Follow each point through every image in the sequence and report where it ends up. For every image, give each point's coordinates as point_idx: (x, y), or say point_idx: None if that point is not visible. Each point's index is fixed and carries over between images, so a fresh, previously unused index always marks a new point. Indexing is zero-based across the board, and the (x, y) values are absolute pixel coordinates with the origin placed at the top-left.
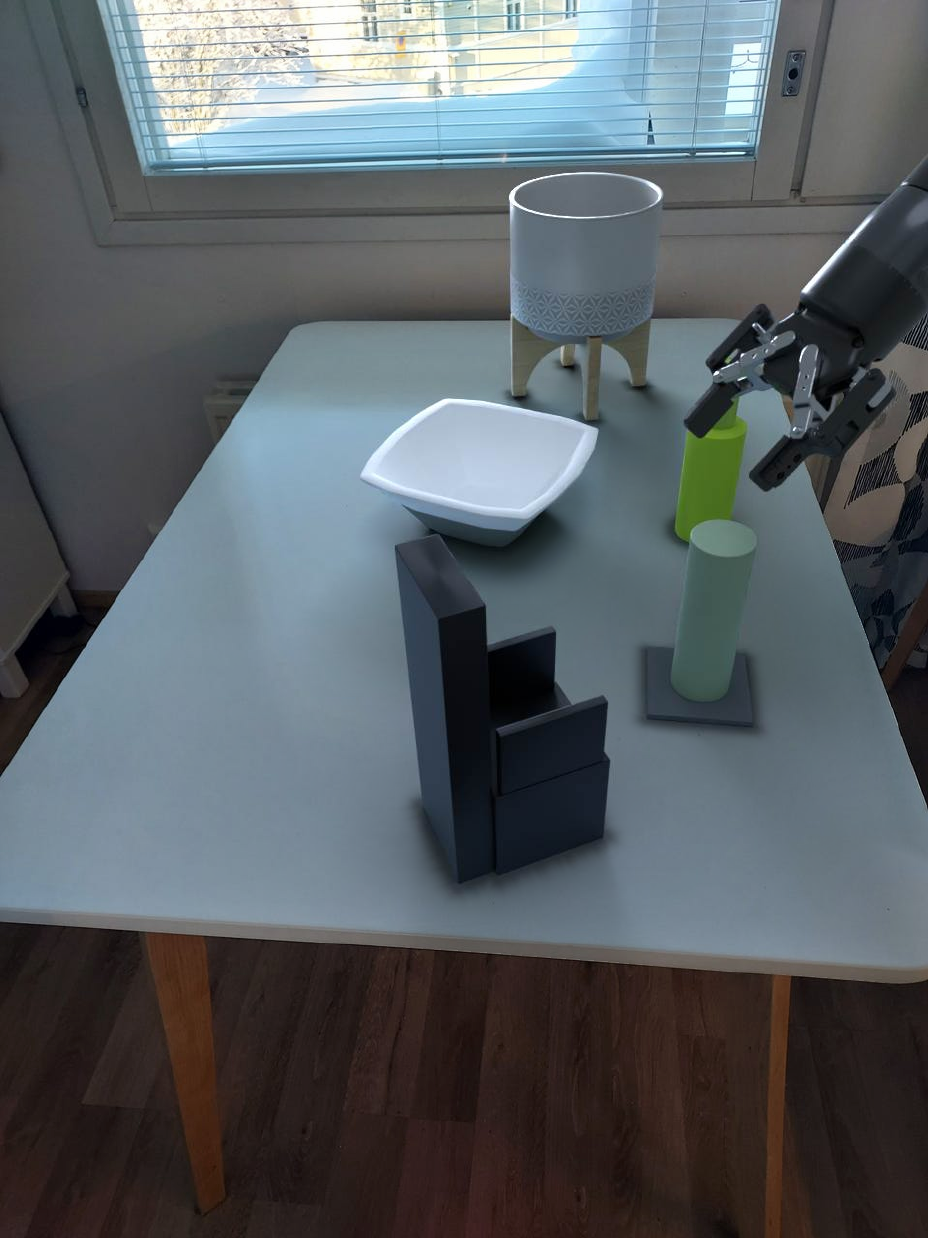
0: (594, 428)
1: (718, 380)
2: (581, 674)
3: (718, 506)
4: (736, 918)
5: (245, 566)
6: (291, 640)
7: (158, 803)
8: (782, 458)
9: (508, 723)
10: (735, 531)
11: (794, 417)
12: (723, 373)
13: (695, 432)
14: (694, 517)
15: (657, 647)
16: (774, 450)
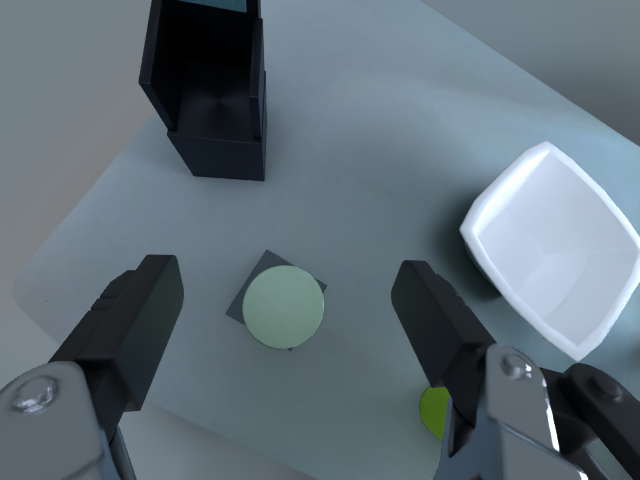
0: (579, 357)
1: (495, 353)
2: (323, 232)
3: (444, 425)
4: (99, 211)
5: (489, 98)
6: (416, 96)
7: (324, 6)
8: (98, 319)
9: (237, 96)
10: (289, 327)
11: (87, 426)
12: (518, 378)
13: (397, 281)
14: (443, 398)
15: (322, 291)
16: (123, 309)
